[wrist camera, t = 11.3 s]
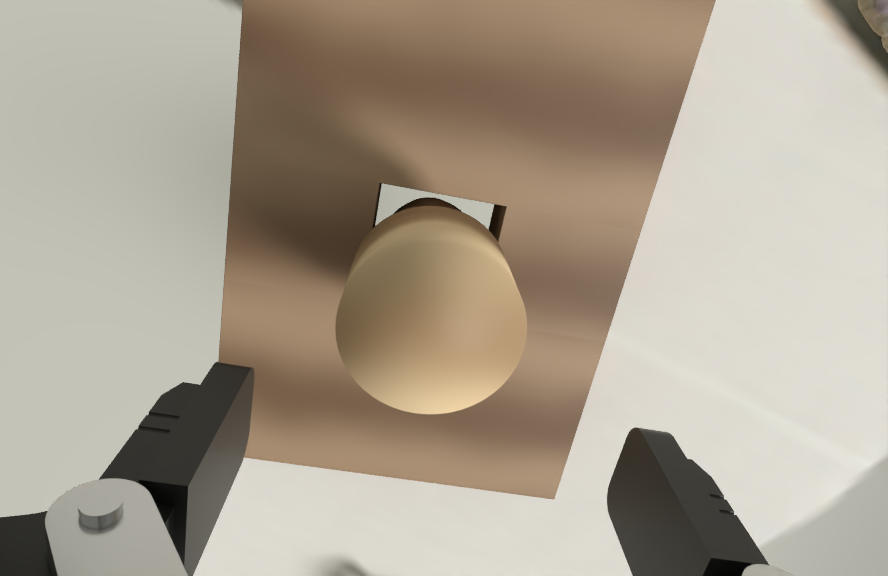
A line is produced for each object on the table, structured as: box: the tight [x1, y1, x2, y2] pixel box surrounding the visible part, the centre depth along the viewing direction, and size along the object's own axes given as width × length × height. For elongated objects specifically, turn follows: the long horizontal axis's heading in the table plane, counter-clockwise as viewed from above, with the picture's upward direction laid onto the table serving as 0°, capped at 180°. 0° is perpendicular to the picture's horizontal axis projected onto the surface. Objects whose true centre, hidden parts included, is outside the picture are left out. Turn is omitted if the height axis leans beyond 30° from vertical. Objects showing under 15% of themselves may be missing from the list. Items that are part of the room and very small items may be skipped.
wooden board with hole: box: [219, 0, 716, 499], centre depth 26 cm, size 22×16×3 cm
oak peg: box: [335, 198, 527, 414], centre depth 22 cm, size 6×6×10 cm
